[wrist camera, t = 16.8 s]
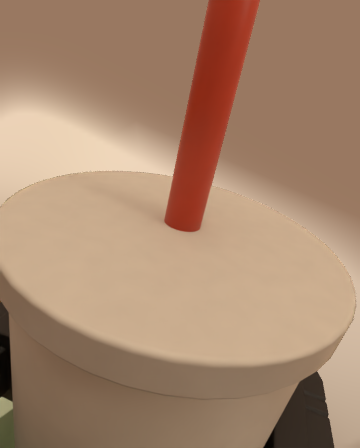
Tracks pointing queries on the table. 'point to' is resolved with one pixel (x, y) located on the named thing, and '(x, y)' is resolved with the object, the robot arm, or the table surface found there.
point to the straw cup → (165, 291)
